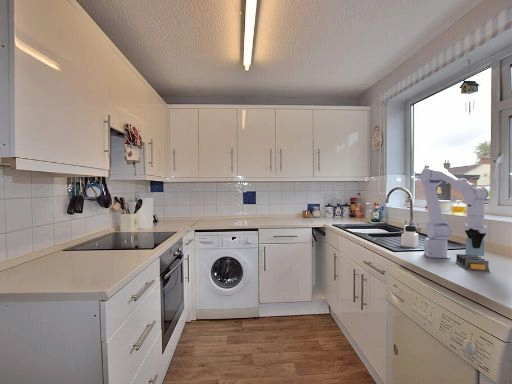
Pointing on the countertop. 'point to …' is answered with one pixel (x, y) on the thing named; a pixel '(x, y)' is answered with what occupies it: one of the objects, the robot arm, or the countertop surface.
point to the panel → (474, 251)
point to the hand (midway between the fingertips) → (475, 247)
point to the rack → (472, 262)
